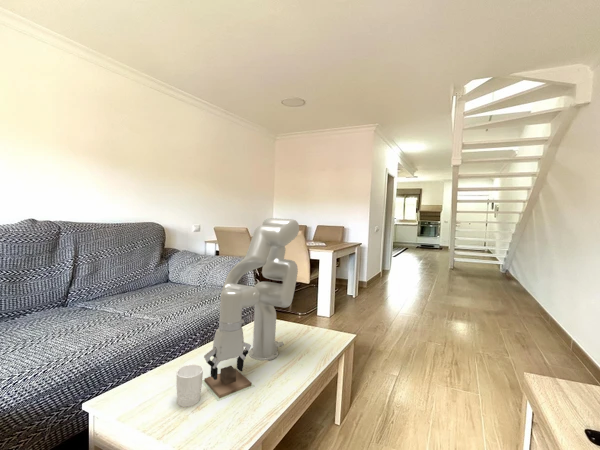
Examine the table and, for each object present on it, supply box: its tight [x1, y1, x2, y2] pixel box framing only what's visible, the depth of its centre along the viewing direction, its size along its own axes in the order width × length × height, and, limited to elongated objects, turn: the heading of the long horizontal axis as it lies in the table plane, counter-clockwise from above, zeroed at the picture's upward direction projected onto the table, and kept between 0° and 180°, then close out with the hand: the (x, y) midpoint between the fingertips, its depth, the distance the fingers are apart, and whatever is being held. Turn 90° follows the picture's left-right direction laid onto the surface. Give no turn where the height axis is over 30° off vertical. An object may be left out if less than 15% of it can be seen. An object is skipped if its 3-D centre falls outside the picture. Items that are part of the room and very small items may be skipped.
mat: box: [202, 368, 256, 402], centre depth 101 cm, size 14×14×1 cm
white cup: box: [176, 364, 204, 408], centre depth 91 cm, size 8×8×10 cm
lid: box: [203, 365, 253, 398], centre depth 101 cm, size 12×12×5 cm
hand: (227, 373), depth 101 cm, fingers open, 9 cm apart
